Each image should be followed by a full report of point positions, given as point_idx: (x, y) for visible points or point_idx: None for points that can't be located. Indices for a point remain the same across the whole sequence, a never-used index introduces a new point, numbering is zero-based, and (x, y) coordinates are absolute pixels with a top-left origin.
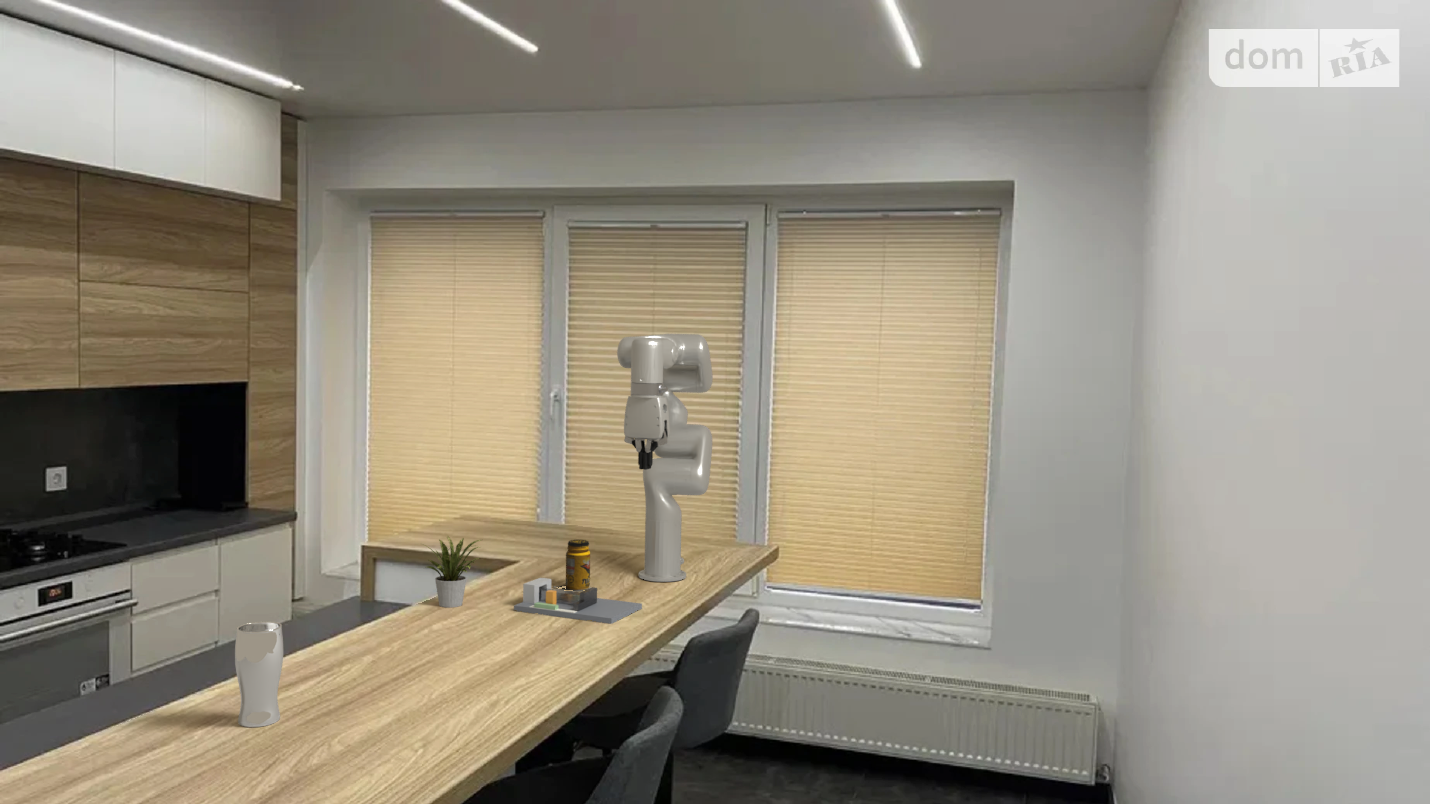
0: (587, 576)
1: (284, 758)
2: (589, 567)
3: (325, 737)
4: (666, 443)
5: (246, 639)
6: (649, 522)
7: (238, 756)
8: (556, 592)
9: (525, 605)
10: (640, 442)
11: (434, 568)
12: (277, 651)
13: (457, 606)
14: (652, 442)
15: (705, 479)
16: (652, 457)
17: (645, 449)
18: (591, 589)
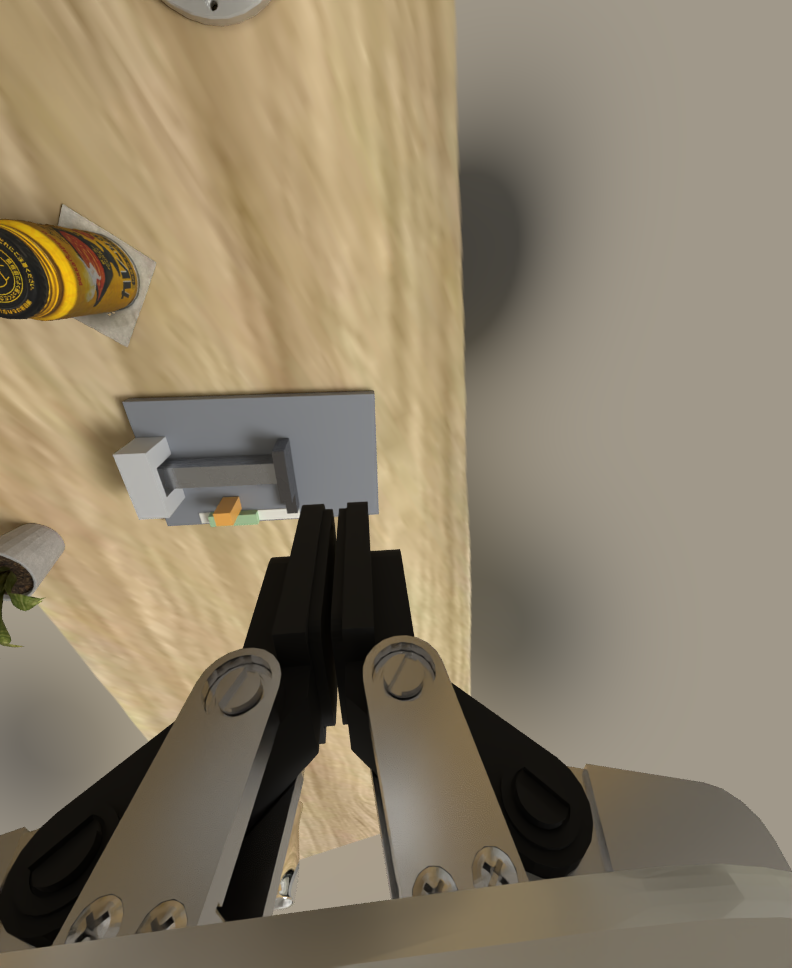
0: (118, 277)
1: (358, 817)
2: (98, 262)
3: (354, 800)
4: (728, 815)
5: (284, 900)
6: None
7: (332, 824)
8: (231, 511)
9: (185, 516)
10: (268, 910)
11: None
12: (297, 874)
13: (64, 545)
14: (432, 826)
15: None
16: (408, 601)
17: (372, 775)
18: (283, 470)
